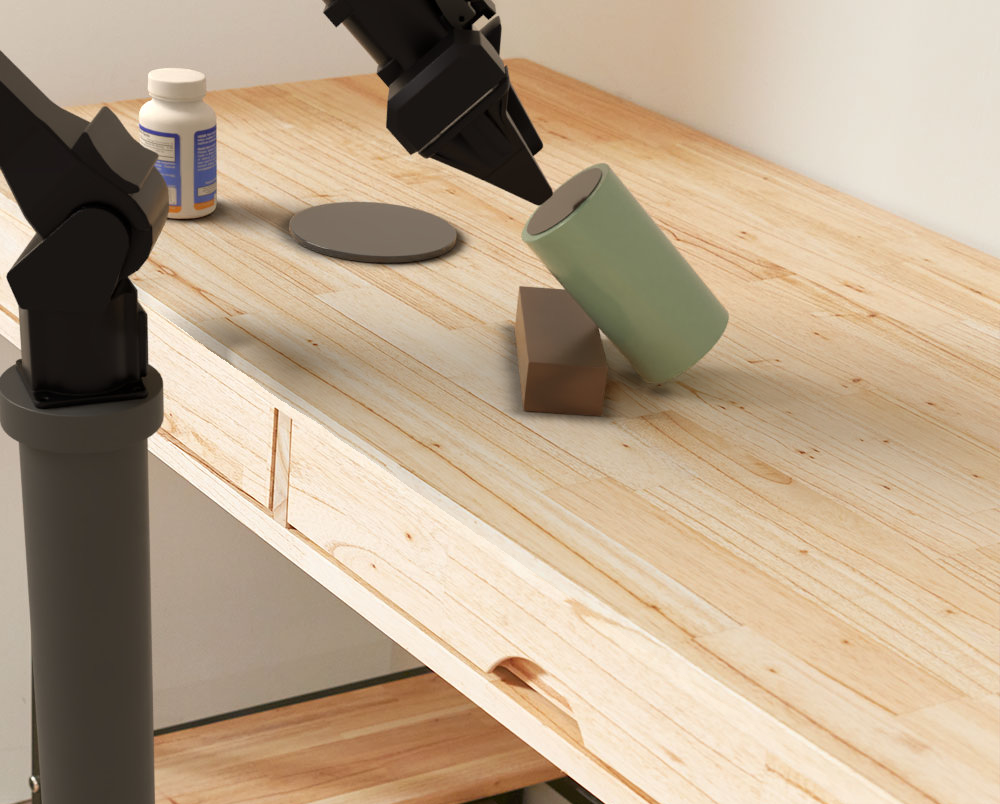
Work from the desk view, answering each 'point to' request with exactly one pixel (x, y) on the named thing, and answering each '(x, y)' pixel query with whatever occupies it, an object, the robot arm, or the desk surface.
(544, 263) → the cup
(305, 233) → the coaster
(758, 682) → the desk surface
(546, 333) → the prop block
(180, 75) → the pill bottle
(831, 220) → the desk surface
